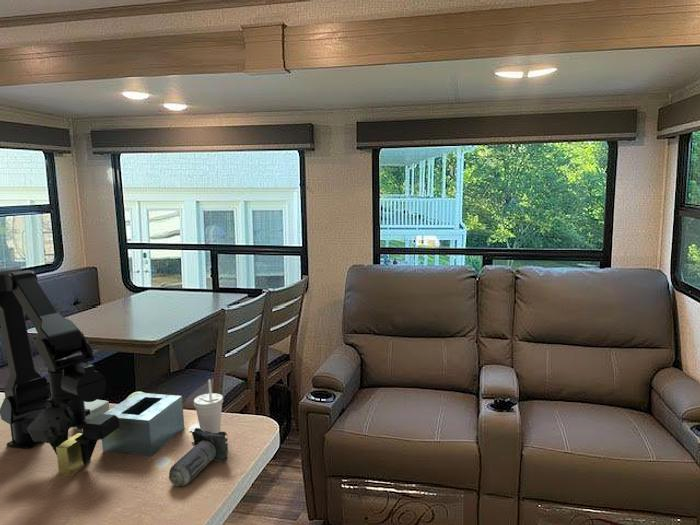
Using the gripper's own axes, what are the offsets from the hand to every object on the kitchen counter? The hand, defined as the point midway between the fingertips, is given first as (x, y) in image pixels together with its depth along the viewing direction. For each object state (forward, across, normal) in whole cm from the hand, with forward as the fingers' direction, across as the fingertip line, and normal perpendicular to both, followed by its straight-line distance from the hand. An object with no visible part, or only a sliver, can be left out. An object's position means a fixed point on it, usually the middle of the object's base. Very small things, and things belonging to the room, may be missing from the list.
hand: (75, 462), depth 108 cm
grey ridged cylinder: (+1, +26, +3) cm, 26 cm away
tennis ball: (+1, -2, +24) cm, 24 cm away
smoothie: (+1, +22, +16) cm, 27 cm away
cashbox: (+1, +7, +14) cm, 15 cm away
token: (+1, 0, 0) cm, 1 cm away
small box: (+1, -11, +19) cm, 22 cm away
